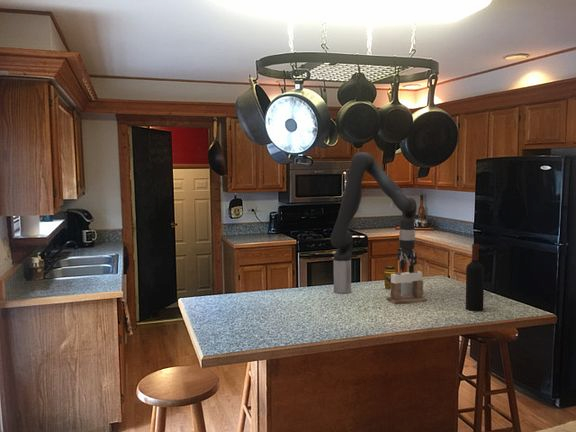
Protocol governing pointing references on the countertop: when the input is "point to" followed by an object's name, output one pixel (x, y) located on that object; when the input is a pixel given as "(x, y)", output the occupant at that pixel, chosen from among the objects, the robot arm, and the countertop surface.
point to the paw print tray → (406, 288)
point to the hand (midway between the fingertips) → (406, 271)
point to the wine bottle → (474, 282)
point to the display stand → (402, 299)
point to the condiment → (388, 276)
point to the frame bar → (406, 277)
